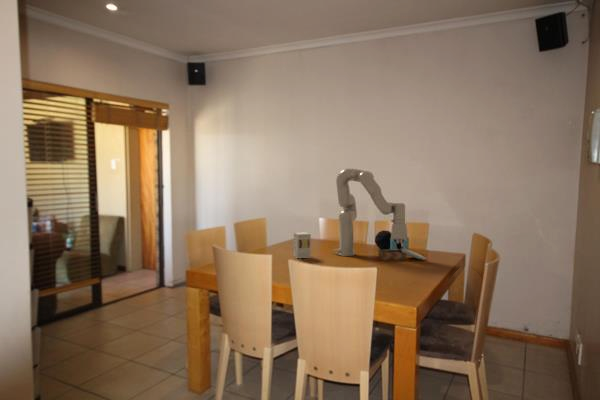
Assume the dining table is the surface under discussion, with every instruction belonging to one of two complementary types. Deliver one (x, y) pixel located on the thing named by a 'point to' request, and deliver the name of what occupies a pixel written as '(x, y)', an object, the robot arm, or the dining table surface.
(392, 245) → the data package
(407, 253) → the cover plate
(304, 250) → the supplement box
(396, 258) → the box
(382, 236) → the decorative orb
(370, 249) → the dining table surface
